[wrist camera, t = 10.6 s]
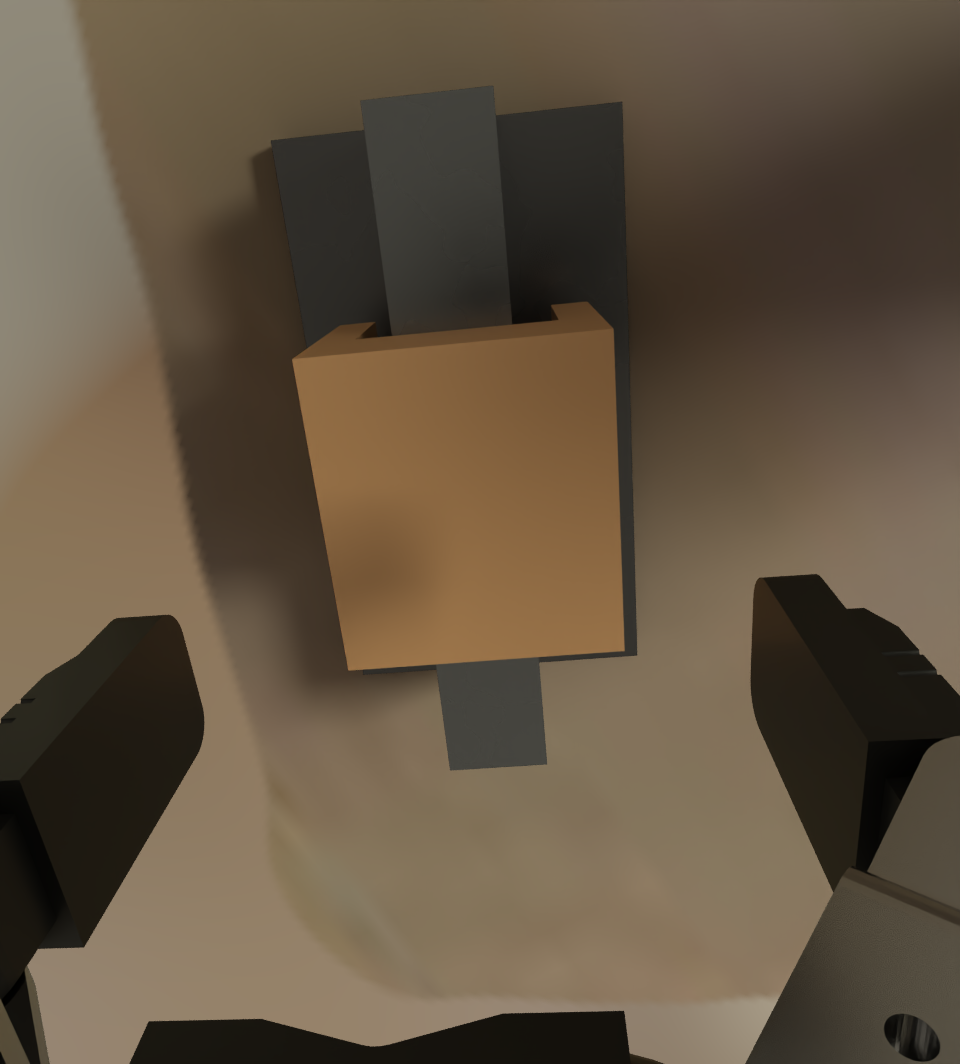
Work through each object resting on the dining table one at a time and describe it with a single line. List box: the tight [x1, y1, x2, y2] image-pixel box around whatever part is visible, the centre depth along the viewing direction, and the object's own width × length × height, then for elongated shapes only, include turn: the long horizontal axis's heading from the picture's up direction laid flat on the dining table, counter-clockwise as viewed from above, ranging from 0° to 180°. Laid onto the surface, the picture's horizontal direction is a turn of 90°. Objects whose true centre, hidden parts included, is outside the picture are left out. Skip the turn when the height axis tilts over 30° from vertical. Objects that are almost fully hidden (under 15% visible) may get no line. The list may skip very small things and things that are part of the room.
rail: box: [271, 86, 637, 770], centre depth 21 cm, size 16×9×6 cm, turn 6°
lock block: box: [292, 302, 625, 671], centre depth 19 cm, size 7×6×5 cm
